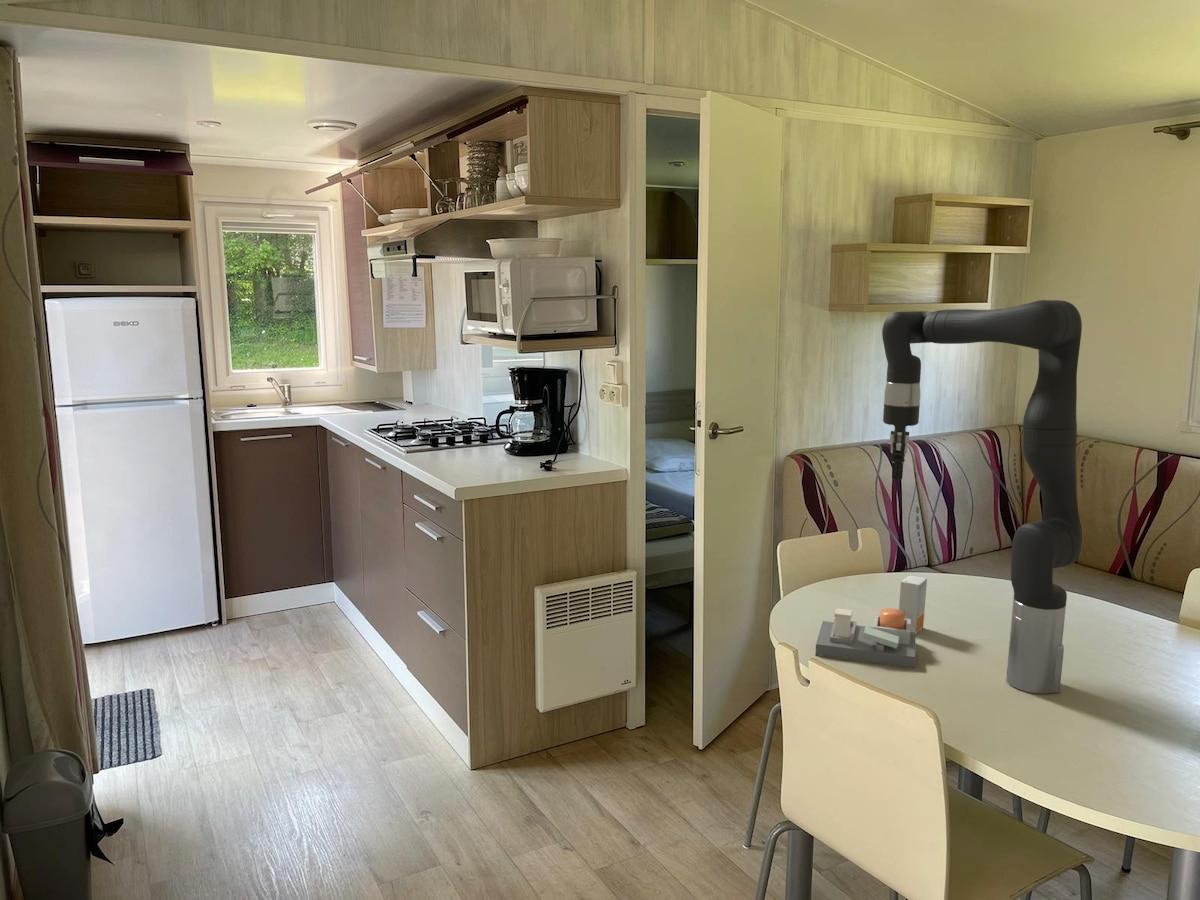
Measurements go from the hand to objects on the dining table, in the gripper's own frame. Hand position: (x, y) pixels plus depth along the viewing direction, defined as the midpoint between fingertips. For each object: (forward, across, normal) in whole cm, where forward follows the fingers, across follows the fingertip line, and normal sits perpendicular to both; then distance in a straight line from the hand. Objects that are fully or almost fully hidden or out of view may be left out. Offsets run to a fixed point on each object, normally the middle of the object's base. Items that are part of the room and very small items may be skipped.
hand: (897, 479), depth 200 cm
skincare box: (+35, 0, -5) cm, 36 cm away
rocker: (+30, -19, +1) cm, 36 cm away
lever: (+32, -17, +9) cm, 38 cm away
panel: (+35, -15, +4) cm, 38 cm away
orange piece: (+32, -12, -1) cm, 34 cm away
